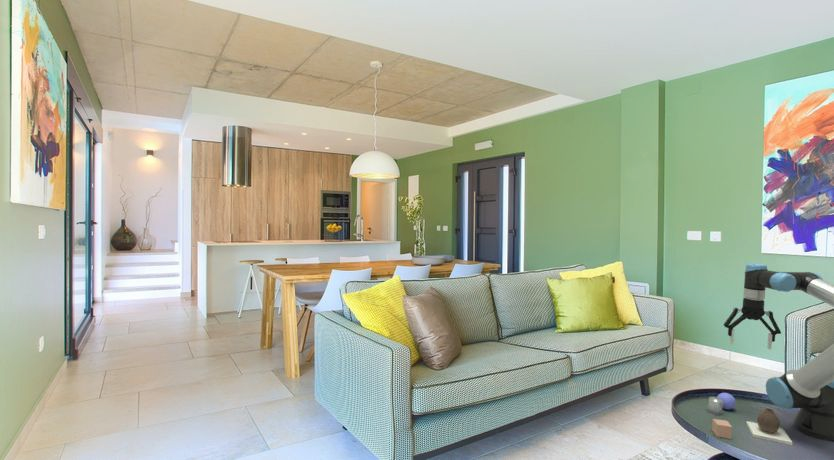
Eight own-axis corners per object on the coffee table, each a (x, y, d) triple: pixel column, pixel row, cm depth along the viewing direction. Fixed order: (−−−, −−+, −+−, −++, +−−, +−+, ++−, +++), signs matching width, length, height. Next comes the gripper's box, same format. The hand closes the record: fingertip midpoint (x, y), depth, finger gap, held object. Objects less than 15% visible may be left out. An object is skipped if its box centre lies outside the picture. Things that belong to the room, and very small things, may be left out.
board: (782, 431, 178) (782, 428, 178) (792, 445, 167) (792, 442, 167) (746, 423, 183) (746, 421, 183) (753, 437, 173) (753, 434, 173)
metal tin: (720, 411, 194) (721, 398, 194) (722, 416, 190) (723, 402, 189) (707, 408, 196) (708, 395, 196) (709, 413, 192) (710, 400, 192)
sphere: (730, 413, 192) (731, 398, 192) (712, 406, 199) (714, 391, 198) (738, 410, 196) (739, 395, 196) (721, 403, 202) (722, 389, 202)
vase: (782, 436, 171) (784, 414, 171) (762, 434, 173) (763, 412, 172) (772, 428, 178) (774, 407, 177) (753, 425, 179) (754, 404, 179)
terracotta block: (726, 433, 175) (727, 420, 175) (731, 439, 171) (732, 426, 170) (711, 430, 177) (712, 418, 177) (716, 437, 172) (717, 424, 172)
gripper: (786, 300, 192) (783, 348, 194) (718, 293, 203) (715, 339, 204) (792, 303, 186) (788, 353, 187) (721, 296, 196) (718, 343, 198)
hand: (750, 346), depth 196 cm, fingers open, 13 cm apart
